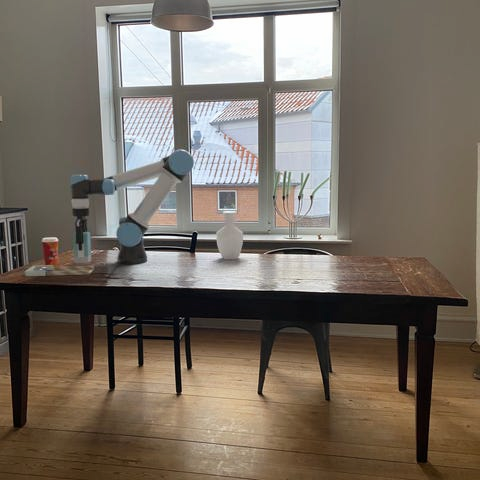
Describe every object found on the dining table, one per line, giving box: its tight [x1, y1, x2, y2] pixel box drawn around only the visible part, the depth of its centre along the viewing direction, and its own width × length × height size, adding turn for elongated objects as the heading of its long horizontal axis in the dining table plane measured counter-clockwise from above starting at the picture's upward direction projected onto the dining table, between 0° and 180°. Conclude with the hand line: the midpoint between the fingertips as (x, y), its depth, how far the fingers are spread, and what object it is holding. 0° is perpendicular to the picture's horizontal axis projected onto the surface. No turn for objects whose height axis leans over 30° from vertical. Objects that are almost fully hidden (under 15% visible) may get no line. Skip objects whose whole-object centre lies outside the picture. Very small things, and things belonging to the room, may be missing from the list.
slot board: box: [46, 265, 95, 276], centre depth 205 cm, size 18×11×2 cm, turn 96°
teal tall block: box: [72, 231, 92, 264], centre depth 215 cm, size 6×6×14 cm
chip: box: [37, 265, 47, 273], centre depth 205 cm, size 4×4×2 cm
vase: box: [215, 210, 244, 260], centre depth 240 cm, size 14×14×25 cm
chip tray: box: [24, 264, 54, 277], centre depth 203 cm, size 8×12×3 cm
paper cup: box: [41, 237, 59, 267], centre depth 220 cm, size 8×8×14 cm
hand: (82, 255), depth 215 cm, fingers closed on teal tall block, 6 cm apart
